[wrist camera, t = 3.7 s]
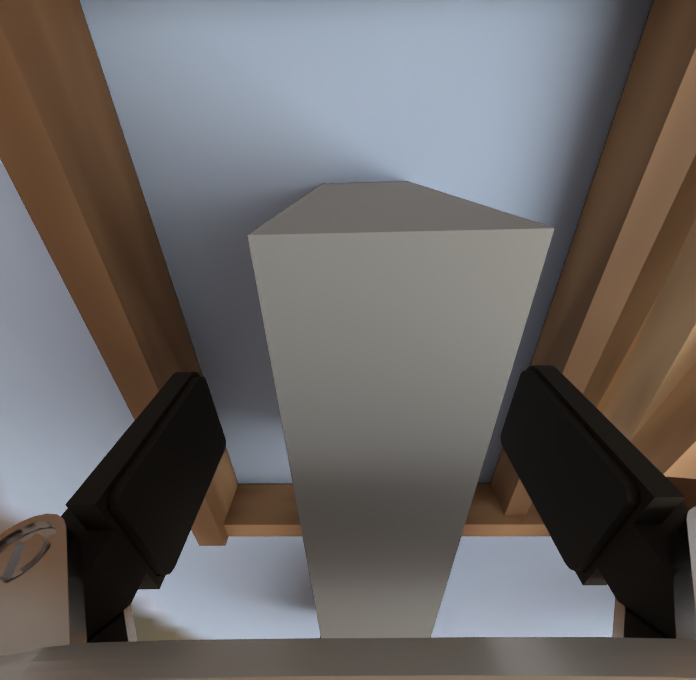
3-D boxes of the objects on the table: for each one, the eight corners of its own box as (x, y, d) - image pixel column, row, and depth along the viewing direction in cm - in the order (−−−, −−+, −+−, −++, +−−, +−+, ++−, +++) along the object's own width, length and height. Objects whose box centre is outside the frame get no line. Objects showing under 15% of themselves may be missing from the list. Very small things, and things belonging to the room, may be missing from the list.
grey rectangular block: (407, 181, 11) (555, 227, 3) (391, 426, 17) (425, 654, 9) (322, 183, 11) (246, 234, 3) (336, 426, 17) (324, 654, 9)
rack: (1198, -131, 7) (1677, -297, 5) (672, 494, 19) (721, 545, 17) (-4, -76, 8) (-180, -193, 5) (219, 495, 20) (199, 545, 17)
